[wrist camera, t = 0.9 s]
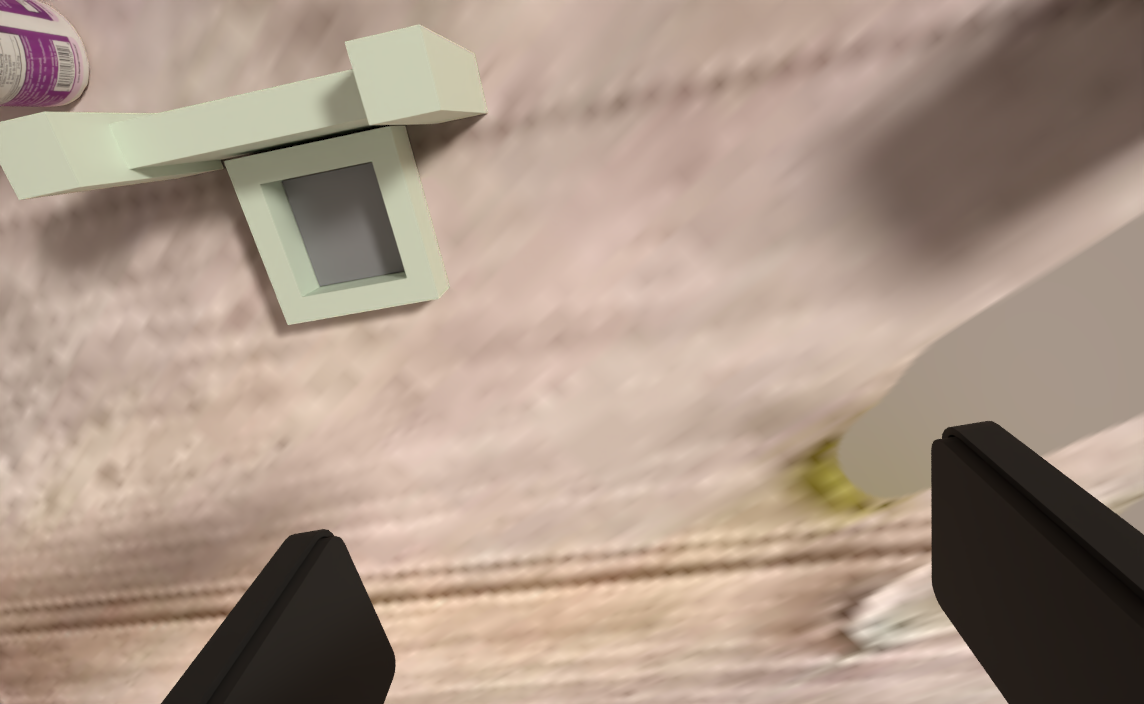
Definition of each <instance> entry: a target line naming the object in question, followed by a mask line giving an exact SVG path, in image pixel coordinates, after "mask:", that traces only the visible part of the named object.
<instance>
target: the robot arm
mask: <svg viewBox="0 0 1144 704" xmlns="http://www.w3.org/2000/svg"><path fill="white" fill-rule="evenodd" d="M931 455H932V456H931V460H932V461H931V464H932V465H931V466H932V468H931V471H932V472H931V473H932V475H931V477H932V478H931V482H932V586H933V590H934V593H935V596H936V598H937V601H938V603H939V605H940V606H941V608H942V610H943V611H944V612H945V614H946V615H947V617H948V618H949V619H950V621H951V622H952V624H953V625H954V627H955V628H956V629H957V631H958V632H959V634H960V635H961V637H962V638H963V639H964V641H965V642H966V644H967V645H968V647H969V648H970V649H971V651H972V652H973V654H974V655H975V656H976V658H977V659H978V661H979V662H980V664H981V665H982V666H983V668H984V669H985V671H986V672H987V674H988V675H989V676H990V678H991V679H992V681H993V682H994V684H995V685H996V686H997V688H998V689H999V691H1000V692H1001V694H1002V695H1003V696H1004V698H1005V699H1006V701H1007V702H1008V703H1009V704H1144V535H1143V534H1142V533H1141V532H1139V531H1138V530H1137V529H1135V528H1134V527H1133V526H1131V525H1130V524H1129V523H1128V522H1126V521H1125V520H1124V519H1122V518H1121V517H1120V516H1118V515H1117V514H1116V513H1114V512H1113V511H1112V510H1110V509H1109V508H1108V507H1106V506H1105V505H1104V504H1103V503H1101V502H1100V501H1099V500H1097V499H1096V498H1095V497H1093V496H1092V495H1091V494H1089V493H1088V492H1087V491H1085V490H1084V489H1083V488H1081V487H1080V486H1079V485H1077V484H1076V483H1075V482H1073V481H1072V480H1071V479H1070V478H1068V477H1067V476H1066V475H1064V474H1063V473H1062V472H1060V471H1059V470H1058V469H1056V468H1055V467H1054V466H1052V465H1051V464H1050V463H1048V462H1047V461H1046V460H1044V459H1043V458H1042V457H1040V456H1039V455H1038V454H1037V453H1035V452H1034V451H1033V450H1031V449H1030V448H1029V447H1027V446H1026V445H1025V444H1023V443H1022V442H1021V441H1019V440H1018V439H1017V438H1015V437H1014V436H1013V435H1011V434H1010V433H1009V432H1007V431H1006V430H1005V429H1003V428H1002V427H1001V426H1000V425H998V424H996V423H994V422H992V421H985V422H979V423H972V424H967V425H960V426H954V427H948V428H947V429H945V430H944V432H943V434H942V439H937V440H935V441H934V442H933V444H932V450H931ZM394 673H395V655H394V652H393V649H392V647H391V645H390V643H389V640H388V638H387V636H386V634H385V632H384V629H383V627H382V625H381V623H380V620H379V618H378V616H377V614H376V612H375V609H374V607H373V605H372V603H371V601H370V598H369V596H368V594H367V592H366V590H365V587H364V585H363V583H362V581H361V578H360V576H359V574H358V572H357V570H356V567H355V565H354V563H353V561H352V559H351V556H350V554H349V552H348V550H347V548H346V545H345V543H344V542H343V540H342V539H341V538H340V537H337V536H334V535H333V533H331V532H330V531H329V530H325V529H322V530H316V531H310V532H304V533H298V534H293V535H291V536H289V537H288V538H287V539H286V540H285V541H284V542H283V544H282V545H281V546H280V548H279V549H278V550H277V552H276V553H275V554H274V556H273V557H272V558H271V559H270V561H269V562H268V563H267V565H266V566H265V567H264V569H263V570H262V571H261V573H260V574H259V575H258V577H257V578H256V579H255V581H254V582H253V583H252V585H251V586H250V587H249V588H248V590H247V591H246V592H245V594H244V595H243V596H242V598H241V599H240V600H239V602H238V603H237V604H236V606H235V607H234V608H233V610H232V611H231V612H230V613H229V615H228V616H227V617H226V619H225V620H224V621H223V623H222V624H221V625H220V627H219V628H218V629H217V631H216V632H215V633H214V635H213V636H212V637H211V639H210V640H209V641H208V642H207V644H206V645H205V646H204V648H203V649H202V650H201V652H200V653H199V654H198V656H197V657H196V658H195V660H194V661H193V662H192V664H191V665H190V666H189V668H188V669H187V670H186V671H185V673H184V674H183V675H182V677H181V678H180V679H179V681H178V682H177V683H176V685H175V686H174V687H173V689H172V690H171V691H170V693H169V694H168V695H167V696H166V698H165V699H164V700H163V702H162V703H161V704H384V701H385V699H386V696H387V693H388V691H389V688H390V685H391V683H392V680H393V677H394Z"/></svg>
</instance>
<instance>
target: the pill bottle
mask: <svg viewBox="0 0 1144 704" xmlns="http://www.w3.org/2000/svg"><path fill="white" fill-rule="evenodd" d="M88 79H89V62H88V58H87V54H86V51H85V48H84V45H83V43H82V40H81V38H80V36H79V35H78V33H77V32H76V30H75V29H74V27H73V26H72V25H71V24H70V22H69V21H68V20H67V19H66V18H65V17H64V16H62V15H61V14H60V13H59V12H58V11H56V10H55V9H54V8H52V7H51V6H49V5H47V4H45V3H43V2H40V1H38V0H0V106H31V107H38V106H42V107H50V106H62V105H66V104H69V103H71V102H73V101H75V100H76V99H77V98H79V97H80V96H81V94H82V93H83V91H84V89H85V87H86V86H87V84H88Z"/></svg>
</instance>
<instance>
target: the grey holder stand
mask: <svg viewBox="0 0 1144 704" xmlns="http://www.w3.org/2000/svg"><path fill="white" fill-rule="evenodd" d="M345 45H346V48H347V52H348V55H349V59H350V62H351V65H352V69H351V70H347V71H342V72H338V73H333V74H329V75H324V76H320V77H316V78H311V79H307V80H302V81H298V82H293V83H289V84H285V85H280V86H276V87H271V88H267V89H262V90H258V91H254V92H249V93H245V94H240V95H236V96H232V97H227V98H223V99H218V100H214V101H209V102H205V103H201V104H196V105H192V106H187V107H183V108H178V109H174V110H170V111H165V112H161V113H99V112H40V113H36V114H32V115H27V116H23V117H19V118H14V119H10V120H6V121H2V122H0V165H1V167H2V169H3V171H4V172H5V174H6V176H7V178H8V180H9V182H10V184H11V186H12V188H13V190H14V191H15V193H16V195H17V197H18V199H19V200H23V199H30V198H38V197H45V196H53V195H60V194H67V193H75V192H82V191H89V190H97V189H104V188H111V187H119V186H126V185H134V184H141V183H148V182H156V181H163V180H170V179H178V178H182V177H187V176H192V175H197V174H201V173H206V172H211V171H216V170H220V169H224V167H223V165H222V162H221V160H222V159H227V158H232V157H237V156H241V155H246V154H251V153H255V152H260V151H265V150H269V149H274V148H279V147H284V146H288V145H293V144H298V143H302V142H307V141H312V140H316V139H321V138H326V137H331V136H335V135H340V134H345V133H349V132H354V131H359V130H363V129H368V128H373V127H378V126H382V125H411V124H439V123H443V122H448V121H453V120H458V119H462V118H467V117H472V116H477V115H481V114H486V113H488V111H487V107H486V103H485V98H484V94H483V89H482V85H481V80H480V76H479V71H478V67H477V63H476V58H475V54H474V53H473V52H471V51H469V50H467V49H465V48H463V47H461V46H459V45H457V44H456V43H454V42H452V41H450V40H448V39H446V38H444V37H442V36H441V35H439V34H437V33H435V32H433V31H431V30H429V29H427V28H425V27H424V26H422V25H420V24H419V25H415V26H411V27H407V28H402V29H398V30H394V31H389V32H385V33H381V34H376V35H372V36H368V37H363V38H359V39H355V40H350V41H346V42H345ZM368 162H372V163H368ZM224 163H225V166H226V168H227V171H228V174H229V176H230V179H231V181H232V184H233V186H234V189H235V192H236V194H237V197H238V199H239V202H240V204H241V207H242V209H243V212H244V215H245V217H246V220H247V222H248V225H249V227H250V230H251V232H252V235H253V238H254V240H255V243H256V245H257V248H258V250H259V253H260V256H261V258H262V261H263V263H264V266H265V268H266V271H267V273H268V276H269V279H270V281H271V284H272V286H273V289H274V291H275V294H276V296H277V299H278V302H279V304H280V307H281V309H282V312H283V314H284V317H285V320H286V322H287V325H292V324H297V323H303V322H309V321H315V320H320V319H326V318H332V317H337V316H343V315H349V314H355V313H360V312H366V311H372V310H378V309H383V308H389V307H395V306H400V305H406V304H412V303H418V302H423V301H429V300H435V299H439V298H440V297H441V296H442V295H443V294H444V293H445V292H446V291H447V290H448V289H449V287H450V286H449V283H448V279H447V275H446V272H445V268H444V265H443V261H442V257H441V254H440V250H439V246H438V243H437V239H436V236H435V232H434V228H433V225H432V221H431V217H430V214H429V210H428V207H427V203H426V199H425V196H424V192H423V188H422V185H421V181H420V177H419V174H418V170H417V167H416V163H415V159H414V156H413V152H412V148H411V145H410V141H409V138H408V134H407V130H406V127H405V126H387V127H383V128H378V129H373V130H369V131H364V132H359V133H355V134H350V135H345V136H340V137H336V138H331V139H326V140H322V141H317V142H312V143H307V144H303V145H298V146H293V147H289V148H284V149H279V150H274V151H270V152H265V153H260V154H256V155H251V156H246V157H242V158H237V159H232V160H227V161H224ZM363 163H368V164H363ZM359 164H363V165H359ZM354 165H358V166H354ZM349 166H353V167H349ZM344 167H348V168H344ZM339 168H344V169H339ZM334 169H339V170H334ZM329 170H334V171H329ZM325 171H329V172H325ZM320 172H324V173H320ZM315 173H319V174H315ZM310 174H314V175H310ZM305 175H309V176H305ZM300 176H305V177H300ZM295 177H300V178H295ZM291 178H295V179H291ZM286 179H290V180H286ZM283 180H285V181H283Z"/></svg>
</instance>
